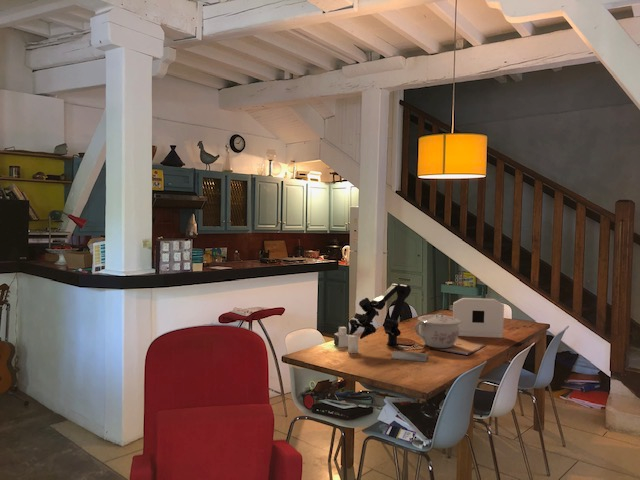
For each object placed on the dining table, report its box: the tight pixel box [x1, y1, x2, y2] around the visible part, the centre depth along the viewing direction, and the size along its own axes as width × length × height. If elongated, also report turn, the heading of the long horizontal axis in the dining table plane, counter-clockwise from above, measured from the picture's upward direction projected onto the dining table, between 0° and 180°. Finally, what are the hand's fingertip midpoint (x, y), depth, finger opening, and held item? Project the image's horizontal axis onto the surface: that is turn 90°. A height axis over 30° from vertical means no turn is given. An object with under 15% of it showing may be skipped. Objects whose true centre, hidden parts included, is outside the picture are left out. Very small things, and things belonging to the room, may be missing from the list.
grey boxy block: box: [452, 297, 505, 339], centre depth 369 cm, size 33×24×26 cm
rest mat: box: [390, 350, 429, 363], centre depth 304 cm, size 16×20×1 cm
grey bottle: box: [333, 325, 349, 348], centre depth 326 cm, size 7×7×12 cm
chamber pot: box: [414, 312, 462, 349], centre depth 331 cm, size 28×28×21 cm
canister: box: [347, 334, 360, 354], centre depth 311 cm, size 6×6×10 cm
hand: (354, 337), depth 312 cm, fingers open, 9 cm apart
